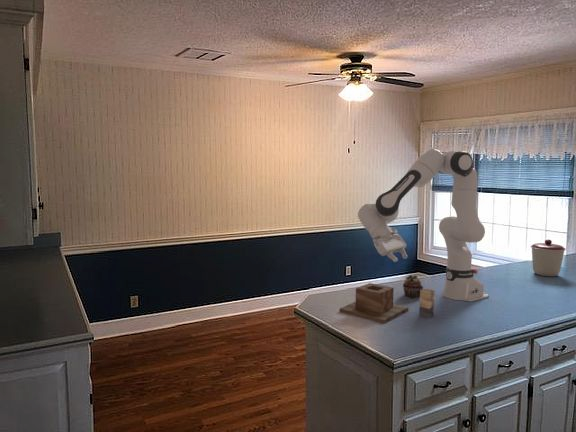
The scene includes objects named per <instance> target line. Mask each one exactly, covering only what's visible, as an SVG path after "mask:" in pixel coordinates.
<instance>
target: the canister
mask: <svg viewBox="0 0 576 432" xmlns="http://www.w3.org/2000/svg"><path fill="white" fill-rule="evenodd" d="M530 248H531V258H532V270H533V272H534V274H536V275H538V276H542V277H556V276H558V275H559V274H560V273H561V269H562V264H563V259H564V255H565V251H566V247H564V246H562V245H560V244H557V243H553V241H552V240H551V239H545V240H544V242H539V243H534V244H533V243H532V244H531V245H530Z"/></svg>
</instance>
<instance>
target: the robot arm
mask: <svg viewBox="0 0 576 432" xmlns="http://www.w3.org/2000/svg"><path fill="white" fill-rule="evenodd" d="M438 173H440V174H442V175H443V174H444V175H451V176H452V178H453V184H452V192H451V203H450V204H451V206H452V208H453V209H454V211H455V214H456V216H446V217H444V218H442V219H441V220H440V221H439V224H438V230H439V233H440V234H441V236H442V237H443V239H444V242H445V245H446V246H445V247H446V251H447V263H446V265H447V266H446V267H445V281H444V287H443V289H442V290H443V291H442V294H441V295H442V297H444V298H446V299H450V300H454V301H455V300H456V301H465V302H470V303H471V302H475V301H478V300H483V299H486V298H489V297H490V296H489V294H488V293H486V292H485V290H484V289H485V288H484V284H483V283H482V282H481V281H480V280H478V278H476V277H475V275H478V272H479V271H478V270H477V269H472V260H473V259H472V258H473V257H472V256H473V254H472V251H471V250H470V249H469V247H468V246H467V243H473V244H474V243H479V242H480V241H482V240H483V239H484V237H485V234H486V228H485V226H484V224H482V222H481V221H480V218H479V215H478V211H477V194H478V172H477V170H476V168H474V159H473V156H472V155H471V153H469V152H467V151H466V150H465V151H464V150H449V151H448V150H447V151H440V150H439V149H435V148H430V149H428V150H427V151H425V152H424V153H423V154H422V155H421V156H420V157H419V158H417V160H416V161H415V162H413V164H412V165H411V167H410V168H409V169H408V170H407V172H406V173H405V174H404V175H403V177H402V178H401V179H400V180H399V181H398V182H397V183H396V184H395V185H393V187H391V189H389V190H387V191H386V192H384V193H381V194H380V195H379V196H378V197H377V198H376V200H375V203H365V204H364V205H362V206H361V207H360V208H359V210H358V213H357V218H358V220H359V222H360V223H361V225H362V226H363V227H364V229H365V230H366V231H368V233H369V235H370V237H371V238H372V243H373V246H374V247H375V249H376V250H377V253H379V255H380V256H382V257H384V256H387V258H389V259H390V260H391V261H393V262H394V263H396V262H398V261H399V259H398V257H397V256H395V255H394V254H396V253H400V254H401V257H402V258H403V259H404V260H405V259H406V260H407V258H408V257H409V256H408V254H407V252H406V250H405V249H406V248H407V244H406V242H405V240H404V239H403V238H402V235H400V234H398V229H396V228H395V227H394V228H393V227H390V226H389V225H388V224H390V223H392V222H394V221H395V220H396V219H397V218H398V216H399V207H400V203H401V201H402V199H403V198H404V197H405V196H406V195H407V194H408V193H409V192H410V191H411V190H412V189H413V188H415V187H417V188H422V187H425V186H427V184H428V183H429V182H430V183H431V181H432V179H434V178H435V176H436V175H437V174H438ZM474 274H475V275H474Z"/></svg>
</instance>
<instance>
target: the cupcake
mask: <svg viewBox="0 0 576 432" xmlns="http://www.w3.org/2000/svg"><path fill="white" fill-rule="evenodd" d="M403 282H404V283H403V284H402V287H403V293H404V297H405V298H409V299H420V291H421V290H423V289H424V286H423V285H422V281H420V278H418V277H417V276H416V275H415V276H413V275H412V274H410V275H408V276H407V277H406V278H405V280H404V281H403Z"/></svg>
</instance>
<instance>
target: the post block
mask: <svg viewBox="0 0 576 432" xmlns="http://www.w3.org/2000/svg"><path fill="white" fill-rule="evenodd" d="M394 289H395V288H394V287H393V286H392V287H391V286H386V285H383V284H377V283H372V282H369V283H366V284H363V285H361V286H359V287H357V288H355V301H354V302H351V303H349V304H347V305H344V306H343V307H340V308H339V313H343V314H346V315H350V316H353V317H354V316H355V317H358V318H361V319H365V320H370V321H373V322H377V323H382V324H386V323H388V322H390V321H391V320H393V319H395V318H397V317H400V316H401V315H403V314H404V313H406V312H409V306H405V305H400V304H396V303H394Z"/></svg>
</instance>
